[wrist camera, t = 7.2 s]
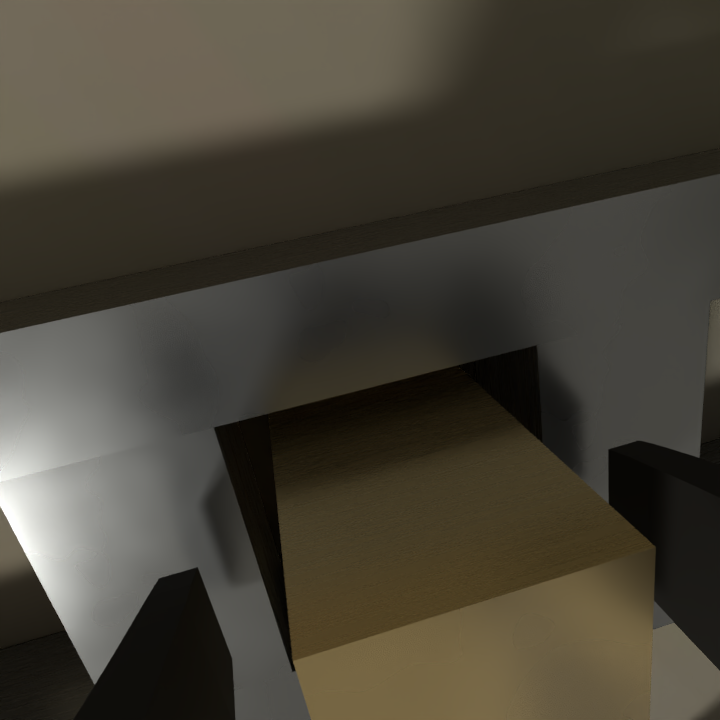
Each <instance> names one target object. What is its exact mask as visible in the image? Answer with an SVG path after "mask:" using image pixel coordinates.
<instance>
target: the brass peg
mask: <svg viewBox="0 0 720 720" xmlns="http://www.w3.org/2000/svg"><path fill="white" fill-rule="evenodd" d="M268 418H269V428H270V438H271V448H272V458H273V468H274V478H275V488H276V498H277V508H278V518H279V528H280V538H281V548H282V558H283V568H284V578H285V588H286V598H287V608H288V618H289V628H290V638H291V648H292V658H293V663H294V666H295V670H296V673H297V676H298V679H299V682H300V685H301V689H302V692H303V695H304V698H305V701H306V705H307V708H308V711H309V714H310V717H311V720H649V718H650V691H651V664H652V637H653V610H654V583H655V556H656V547H655V546H654V545H653V544H652V543H651V542H650V541H649V540H648V539H647V538H645V537H644V536H643V535H642V534H641V533H640V532H639V531H638V530H637V529H636V528H634V527H633V526H632V525H631V524H630V523H629V522H628V521H627V520H626V519H625V518H624V517H622V516H621V515H620V514H619V513H618V512H617V511H616V510H615V509H614V508H613V507H612V506H610V505H609V504H608V503H607V502H606V501H605V500H604V499H603V498H602V497H601V496H599V495H598V494H597V493H596V492H595V491H594V490H593V489H592V488H591V487H590V486H589V485H587V484H586V483H585V482H584V481H583V480H582V479H581V478H580V477H579V476H578V475H577V474H575V473H574V472H573V471H572V470H571V469H570V468H569V467H568V466H567V465H566V464H564V463H563V462H562V461H561V460H560V459H559V458H558V457H557V456H556V455H555V454H554V453H552V452H551V451H550V450H549V449H548V448H547V447H546V446H545V445H544V444H543V443H541V442H540V441H539V440H538V439H537V438H536V437H535V436H534V435H533V434H532V433H531V432H529V431H528V430H527V429H526V428H525V427H524V426H523V425H522V424H521V423H520V422H519V421H517V420H516V419H515V418H514V417H513V416H512V415H511V414H510V413H509V412H508V411H506V410H505V409H504V408H503V407H502V406H501V405H500V404H499V403H498V402H497V401H496V400H494V399H493V398H492V397H491V396H490V395H489V394H488V393H487V392H486V391H485V390H483V389H482V388H481V387H480V386H479V385H478V384H477V383H476V382H475V381H474V380H473V379H471V378H470V377H469V376H468V375H467V374H466V373H465V372H464V371H463V370H462V369H461V368H459V367H458V366H453V367H449V368H445V369H441V370H437V371H433V372H429V373H425V374H422V375H418V376H414V377H410V378H406V379H402V380H398V381H394V382H390V383H386V384H382V385H378V386H374V387H371V388H367V389H363V390H359V391H355V392H351V393H347V394H343V395H339V396H335V397H331V398H327V399H323V400H320V401H316V402H312V403H308V404H304V405H300V406H296V407H292V408H288V409H284V410H280V411H276V412H272V413H269V414H268Z"/></svg>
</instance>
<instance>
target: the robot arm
mask: <svg viewBox="0 0 720 720" xmlns="http://www.w3.org/2000/svg"><path fill="white" fill-rule="evenodd" d="M608 492H609V505H610V506H612V507H613V508H614V509H615V510H616V511H617V512H618V513H619V514H620V515H621V516H622V517H624V518H625V519H626V520H627V521H628V522H629V523H630V524H631V525H632V526H633V527H634V528H636V529H637V530H638V531H639V532H640V533H641V534H642V535H643V536H644V537H645V538H647V539H648V540H649V541H650V542H651V543H652V544H653V545H654V546H655V547H656V556H655V583H654V601H655V602H656V603H657V604H658V605H659V607H660V608H661V609H662V610H663V611H664V612H665V613H666V614H667V615H668V616H669V617H670V618H671V619H672V620H673V622H674V623H675V624H676V625H677V626H678V627H679V628H680V629H681V630H682V631H683V632H684V633H685V634H686V635H687V636H688V638H689V639H690V640H691V641H692V642H693V643H694V644H695V645H696V646H697V647H698V648H699V649H700V650H701V651H702V652H703V653H704V654H705V655H706V656H707V657H708V659H709V660H710V661H711V662H712V663H713V664H714V665H715V666H716V667H717V668H718V669H719V670H720V465H719V464H716V463H713V462H710V461H707V460H704V459H701V458H698V457H695V456H692V455H689V454H685V453H682V452H679V451H676V450H673V449H669V448H666V447H663V446H659V445H656V444H652V443H648V442H644V441H640V440H639V441H635V442H632V443H628V444H625V445H621V446H618V447H614V448H611V449H608ZM73 720H235V697H234V680H233V662H232V657H231V654H230V651H229V649H228V646H227V643H226V641H225V638H224V635H223V633H222V630H221V627H220V625H219V622H218V620H217V617H216V614H215V612H214V609H213V606H212V604H211V601H210V598H209V596H208V593H207V590H206V588H205V585H204V582H203V580H202V577H201V575H200V572H199V569H198V567H196V568H193V569H190V570H186V571H183V572H179V573H176V574H172V575H169V576H165V577H162V578H159V579H158V581H157V582H156V584H155V585H154V587H153V589H152V590H151V592H150V593H149V595H148V597H147V598H146V600H145V602H144V603H143V605H142V607H141V609H140V610H139V612H138V614H137V615H136V617H135V619H134V620H133V622H132V624H131V626H130V627H129V629H128V631H127V632H126V634H125V636H124V637H123V639H122V641H121V642H120V644H119V646H118V647H117V649H116V651H115V652H114V654H113V656H112V657H111V659H110V661H109V662H108V664H107V666H106V667H105V669H104V671H103V672H102V674H101V675H100V677H99V679H98V680H97V682H96V683H95V685H94V687H93V688H92V690H91V691H90V693H89V695H88V696H87V698H86V699H85V701H84V703H83V704H82V706H81V708H80V709H79V711H78V712H77V714H76V715H75V717H74V719H73Z"/></svg>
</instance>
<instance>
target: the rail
mask: <svg viewBox="0 0 720 720" xmlns="http://www.w3.org/2000/svg"><path fill="white" fill-rule="evenodd" d="M716 299H720V148H719V149H715V150H710V151H705V152H701V153H696V154H691V155H687V156H682V157H677V158H673V159H668V160H663V161H659V162H654V163H649V164H645V165H640V166H635V167H631V168H626V169H621V170H617V171H612V172H607V173H603V174H598V175H593V176H589V177H584V178H579V179H575V180H570V181H565V182H561V183H556V184H551V185H547V186H542V187H537V188H533V189H528V190H523V191H519V192H514V193H509V194H505V195H500V196H495V197H491V198H486V199H481V200H477V201H472V202H467V203H463V204H458V205H453V206H449V207H444V208H439V209H435V210H430V211H425V212H421V213H416V214H411V215H407V216H402V217H397V218H393V219H388V220H383V221H379V222H374V223H369V224H365V225H360V226H355V227H351V228H346V229H341V230H337V231H332V232H327V233H323V234H318V235H313V236H309V237H304V238H299V239H295V240H290V241H285V242H281V243H276V244H271V245H267V246H262V247H257V248H253V249H248V250H243V251H239V252H234V253H229V254H225V255H220V256H215V257H211V258H206V259H201V260H197V261H192V262H187V263H183V264H178V265H173V266H169V267H164V268H159V269H155V270H150V271H145V272H141V273H136V274H131V275H127V276H122V277H117V278H112V279H108V280H103V281H98V282H94V283H89V284H84V285H80V286H75V287H70V288H66V289H61V290H56V291H52V292H47V293H42V294H38V295H33V296H28V297H24V298H19V299H14V300H10V301H5V302H0V506H1V508H2V510H3V512H4V514H5V516H6V517H7V519H8V521H9V523H10V525H11V527H12V529H13V531H14V533H15V535H16V536H17V538H18V540H19V542H20V544H21V546H22V548H23V550H24V552H25V554H26V555H27V557H28V559H29V561H30V563H31V565H32V567H33V569H34V571H35V573H36V574H37V576H38V578H39V580H40V582H41V584H42V586H43V588H44V590H45V591H46V593H47V595H48V597H49V599H50V601H51V603H52V605H53V607H54V609H55V610H56V612H57V614H58V616H59V618H60V620H61V622H62V624H63V626H64V628H65V629H66V631H64V632H60V633H57V634H53V635H50V636H46V637H43V638H40V639H36V640H33V641H29V642H26V643H23V644H19V645H16V646H12V647H9V648H6V649H2V650H0V720H73V719H74V717H75V715H76V714H77V712H78V711H79V709H80V708H81V706H82V704H83V703H84V701H85V699H86V698H87V696H88V695H89V693H90V691H91V690H92V688H93V687H94V685H95V683H96V682H97V680H98V679H99V677H100V675H101V674H102V672H103V671H104V669H105V667H106V666H107V664H108V662H109V661H110V659H111V657H112V656H113V654H114V652H115V651H116V649H117V647H118V646H119V644H120V642H121V641H122V639H123V637H124V636H125V634H126V632H127V631H128V629H129V627H130V626H131V624H132V622H133V620H134V619H135V617H136V615H137V614H138V612H139V610H140V609H141V607H142V605H143V603H144V602H145V600H146V598H147V597H148V595H149V593H150V592H151V590H152V589H153V587H154V585H155V584H156V582H157V581H158V579H159V578H162V577H165V576H169V575H172V574H176V573H179V572H183V571H186V570H190V569H193V568H196V567H198V569H199V572H200V575H201V577H202V580H203V582H204V585H205V588H206V590H207V593H208V596H209V598H210V601H211V604H212V606H213V609H214V612H215V614H216V617H217V620H218V622H219V625H220V627H221V630H222V633H223V635H224V638H225V641H226V643H227V646H228V649H229V651H230V654H231V657H232V662H233V680H234V697H235V720H311V717H310V714H309V711H308V708H307V705H306V701H305V698H304V695H303V692H302V689H301V685H300V682H299V679H298V676H297V673H296V670H295V666H294V663H293V658H292V648H291V638H290V628H289V618H288V608H287V598H286V588H285V578H284V568H283V567H282V565H281V562H280V558H279V555H278V552H277V548H276V545H275V542H274V538H273V535H272V532H271V528H270V525H269V522H268V518H267V515H266V512H265V508H264V505H263V502H262V499H261V495H260V492H259V489H258V485H257V482H256V479H255V475H254V472H253V469H252V465H251V462H250V459H249V455H248V452H247V449H246V445H245V442H244V439H243V435H242V432H241V429H240V426H239V422H238V421H241V420H245V419H249V418H253V417H257V416H261V415H265V414H269V413H272V412H276V411H280V410H284V409H288V408H292V407H296V406H300V405H304V404H308V403H312V402H316V401H320V400H323V399H327V398H331V397H335V396H339V395H343V394H347V393H351V392H355V391H359V390H363V389H367V388H371V387H374V386H378V385H382V384H386V383H390V382H394V381H398V380H402V379H406V378H410V377H414V376H418V375H422V374H425V373H429V372H433V371H437V370H441V369H445V368H449V367H453V366H457V365H461V364H465V363H469V362H473V361H475V365H476V375H477V384H478V385H479V386H480V387H481V388H482V389H483V390H485V391H486V392H487V393H488V394H489V395H490V396H491V397H492V398H493V399H494V400H496V401H497V402H498V403H499V404H500V405H501V406H502V407H503V408H504V409H505V410H506V411H508V412H509V413H510V414H511V415H512V416H513V417H514V418H515V419H516V420H517V421H519V422H520V423H521V424H522V425H523V426H524V427H525V428H526V429H527V430H528V431H529V432H531V433H532V434H533V435H534V436H535V437H536V438H537V439H538V440H539V441H540V442H541V443H543V444H544V445H545V446H546V447H547V448H548V449H549V450H550V451H551V452H552V453H554V454H555V455H556V456H557V457H558V458H559V459H560V460H561V461H562V462H563V463H564V464H566V465H567V466H568V467H569V468H570V469H571V470H572V471H573V472H574V473H575V474H577V475H578V476H579V477H580V478H581V479H582V480H583V481H584V482H585V483H586V484H587V485H589V486H590V487H591V488H592V489H593V490H594V491H595V492H596V493H597V494H598V495H599V496H601V497H602V498H603V499H604V500H605V501H606V502H607V503H608V504H609V492H608V449H611V448H614V447H618V446H621V445H625V444H628V443H632V442H635V441H639V440H640V441H644V442H648V443H652V444H656V445H659V446H663V447H666V448H669V449H673V450H676V451H679V452H682V453H685V454H689V455H692V456H695V457H698V458H701V459H704V460H707V461H710V462H713V463H716V464H719V465H720V439H719V440H715V441H712V442H708V443H705V444H701V445H700V443H701V428H702V414H703V399H704V384H705V370H706V355H707V340H708V326H709V311H710V301H712V300H716ZM671 623H674V622H673V620H672V619H671V618H670V617H669V616H668V615H667V614H666V613H665V612H664V611H663V610H662V609H661V608H660V607H659V605H658V604H657V603H656V602H655V601H654V610H653V629H656V628H659V627H662V626H665V625H668V624H671Z"/></svg>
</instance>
